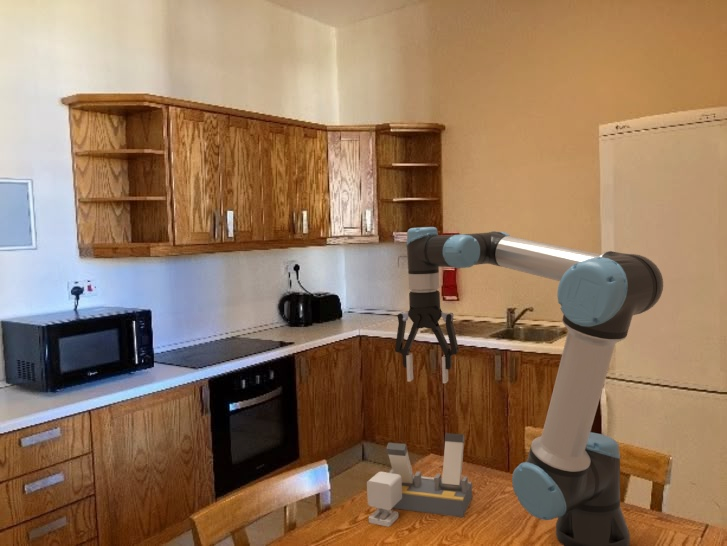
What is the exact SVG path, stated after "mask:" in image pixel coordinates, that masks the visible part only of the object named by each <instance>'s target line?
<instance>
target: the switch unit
mask: <svg viewBox="0 0 727 546" xmlns="http://www.w3.org/2000/svg"><path fill="white" fill-rule="evenodd" d="M388 473H393V470H392V468H391V469H390V470H389V472H388ZM393 474H394V473H393ZM413 476H414V485H413V484H405V483H402V499H401V500H400V501H399V502H398V503H397V504H396V505H395V506H394V507H393V508H392V509H396V510H397V509H398V510H404V511H412V512H420V513H426V514H435V515H444V516H450V517H459V518H464V516H465V514H466V512H467V510H468V508H469V506H470V504H471V501H472V499H473V483H472V481H470V480H469V479H468V476H467V475H466V476H465V475H463V477H461V488H462V490H457V489H449V488H441V487H440V483H441V482H442V474H441V473H436V475H435V476H434V477H433V476H432V477H430V476H425V475H424V476H422V471H417V470H416V472H415V474H413Z"/></svg>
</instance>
